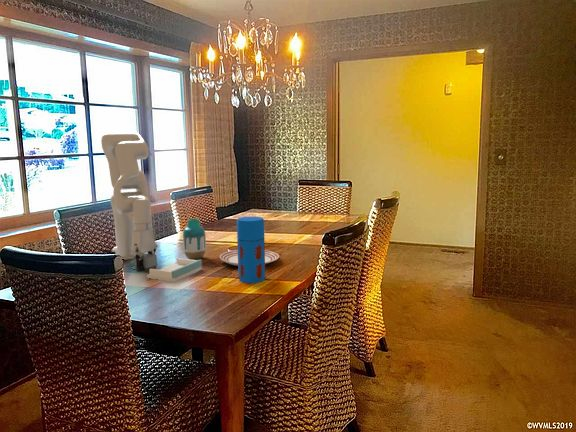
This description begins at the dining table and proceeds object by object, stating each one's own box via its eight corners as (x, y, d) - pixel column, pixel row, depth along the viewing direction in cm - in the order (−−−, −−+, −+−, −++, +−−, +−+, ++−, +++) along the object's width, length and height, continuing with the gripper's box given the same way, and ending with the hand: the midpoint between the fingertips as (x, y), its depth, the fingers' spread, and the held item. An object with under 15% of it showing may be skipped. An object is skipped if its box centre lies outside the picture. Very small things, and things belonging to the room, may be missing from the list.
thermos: (265, 274, 192) (264, 216, 188) (265, 282, 182) (263, 220, 178) (239, 275, 192) (237, 216, 188) (237, 283, 182) (235, 221, 177)
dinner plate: (268, 252, 231) (268, 246, 230) (287, 266, 206) (287, 259, 205) (214, 258, 221) (213, 251, 221) (227, 273, 196) (227, 265, 195)
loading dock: (147, 278, 190) (146, 267, 189) (176, 266, 207) (175, 256, 206) (174, 282, 184) (173, 271, 183) (201, 269, 201) (201, 259, 200)
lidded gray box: (134, 270, 201) (133, 250, 200) (143, 267, 206) (141, 247, 205) (148, 272, 198) (147, 252, 197) (157, 269, 203) (156, 249, 201)
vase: (184, 262, 214) (182, 221, 210) (183, 256, 224) (181, 218, 220) (207, 260, 216) (205, 220, 213) (205, 254, 226) (203, 216, 223)
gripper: (149, 222, 208) (152, 260, 211) (121, 229, 193) (124, 270, 196) (163, 223, 205) (165, 262, 208) (135, 230, 190) (138, 272, 193)
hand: (145, 266), depth 202 cm, fingers open, 6 cm apart
